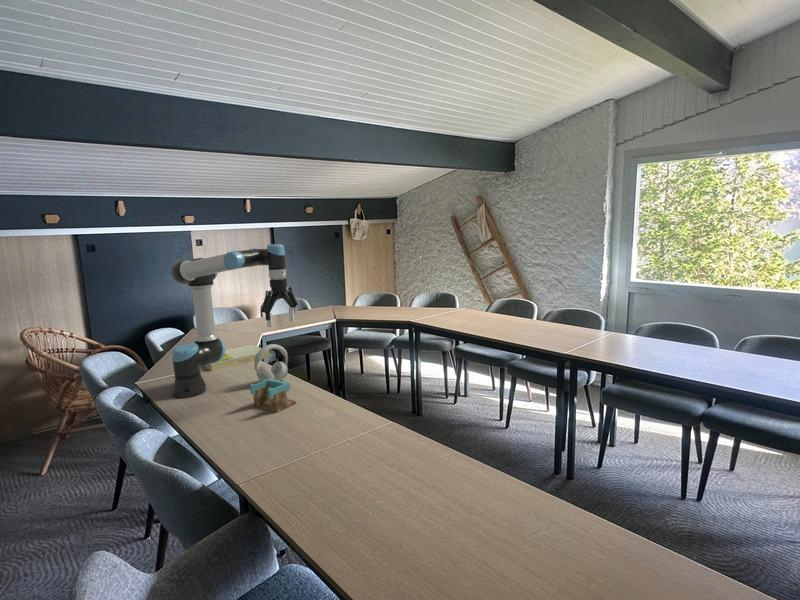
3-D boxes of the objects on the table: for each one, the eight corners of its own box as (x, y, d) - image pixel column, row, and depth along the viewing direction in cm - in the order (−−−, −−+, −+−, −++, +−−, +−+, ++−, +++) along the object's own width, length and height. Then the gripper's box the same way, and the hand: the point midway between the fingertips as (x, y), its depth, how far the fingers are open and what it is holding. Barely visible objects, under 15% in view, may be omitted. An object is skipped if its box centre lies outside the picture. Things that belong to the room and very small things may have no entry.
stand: (277, 412, 201) (276, 394, 200) (254, 406, 209) (252, 389, 208) (295, 403, 210) (294, 386, 209) (272, 397, 218) (271, 381, 217)
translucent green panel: (270, 358, 285) (252, 350, 302) (269, 351, 284) (252, 343, 301) (210, 372, 261) (195, 363, 278) (210, 364, 260) (194, 356, 278)
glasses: (270, 398, 198) (270, 389, 198) (250, 393, 205) (249, 384, 205) (290, 390, 208) (289, 381, 207) (270, 385, 215) (269, 377, 214)
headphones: (262, 389, 230) (259, 350, 226) (251, 384, 237) (248, 346, 233) (294, 379, 243) (291, 342, 240) (283, 375, 250) (280, 339, 247)
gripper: (262, 282, 199) (266, 330, 203) (303, 275, 220) (306, 319, 223) (250, 281, 203) (254, 328, 207) (291, 275, 224) (294, 318, 227)
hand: (281, 324), depth 215 cm, fingers open, 13 cm apart
